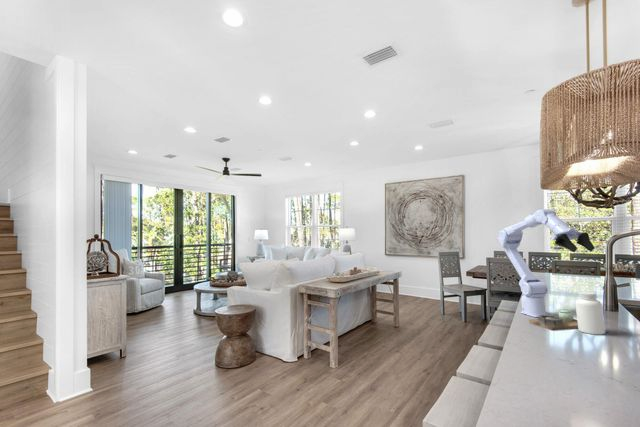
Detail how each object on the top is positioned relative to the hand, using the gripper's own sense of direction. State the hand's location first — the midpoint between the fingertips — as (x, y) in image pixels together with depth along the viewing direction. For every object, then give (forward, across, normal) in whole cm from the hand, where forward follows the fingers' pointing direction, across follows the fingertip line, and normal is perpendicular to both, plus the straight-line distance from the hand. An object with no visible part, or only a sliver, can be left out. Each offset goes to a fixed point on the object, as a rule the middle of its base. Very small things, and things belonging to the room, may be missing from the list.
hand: (584, 249), depth 123 cm
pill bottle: (+21, 0, +24) cm, 32 cm away
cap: (+10, +2, +32) cm, 34 cm away
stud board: (+12, -3, +32) cm, 34 cm away
